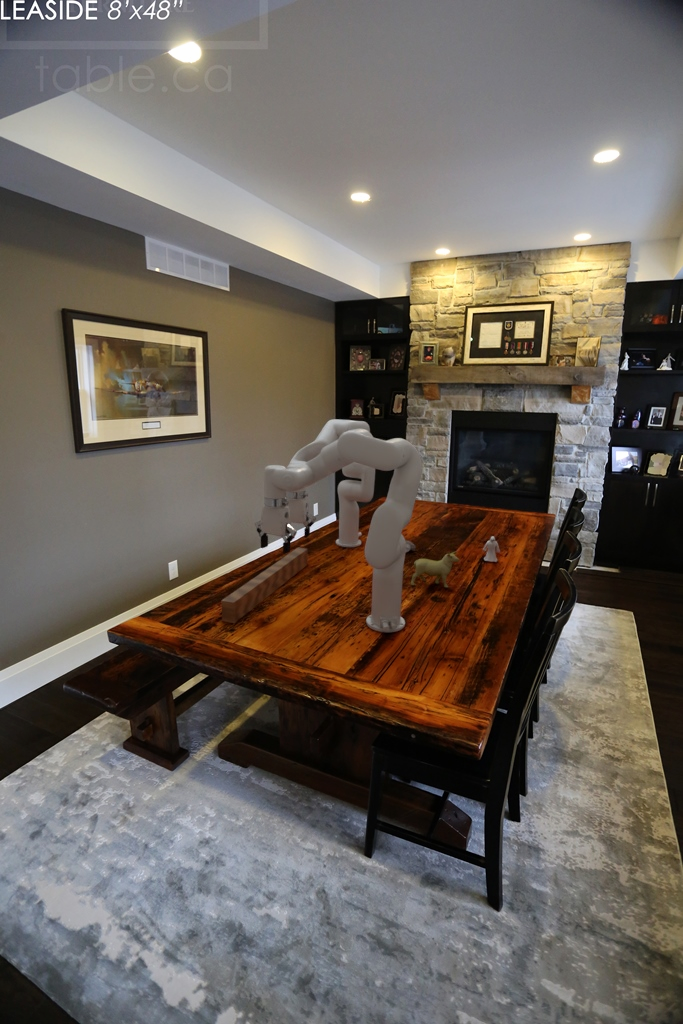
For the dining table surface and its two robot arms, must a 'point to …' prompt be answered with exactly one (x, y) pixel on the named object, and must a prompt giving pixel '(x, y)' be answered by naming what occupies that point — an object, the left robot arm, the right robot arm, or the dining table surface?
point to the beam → (263, 585)
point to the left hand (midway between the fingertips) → (296, 535)
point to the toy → (434, 568)
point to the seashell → (409, 546)
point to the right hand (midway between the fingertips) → (275, 549)
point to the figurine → (491, 550)
